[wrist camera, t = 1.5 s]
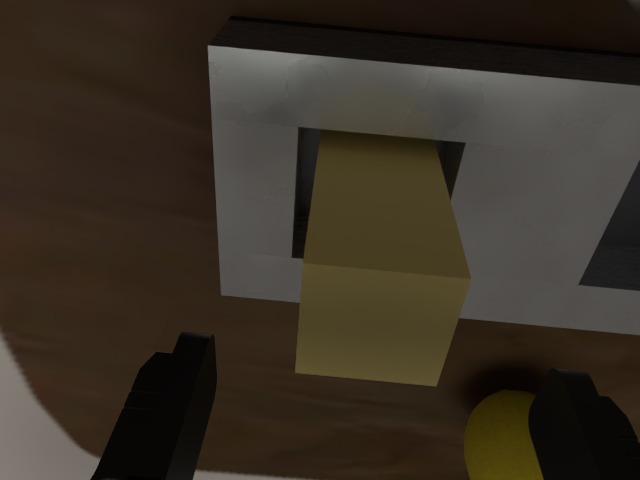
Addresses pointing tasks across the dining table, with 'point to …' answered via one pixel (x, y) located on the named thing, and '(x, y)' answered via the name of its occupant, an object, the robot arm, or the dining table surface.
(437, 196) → the plug
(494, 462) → the lemon
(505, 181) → the panel
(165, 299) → the dining table surface
